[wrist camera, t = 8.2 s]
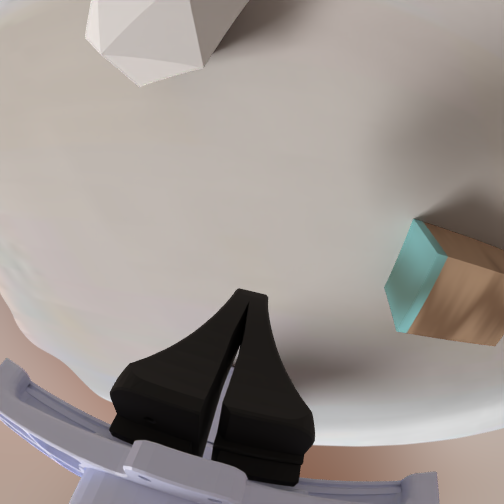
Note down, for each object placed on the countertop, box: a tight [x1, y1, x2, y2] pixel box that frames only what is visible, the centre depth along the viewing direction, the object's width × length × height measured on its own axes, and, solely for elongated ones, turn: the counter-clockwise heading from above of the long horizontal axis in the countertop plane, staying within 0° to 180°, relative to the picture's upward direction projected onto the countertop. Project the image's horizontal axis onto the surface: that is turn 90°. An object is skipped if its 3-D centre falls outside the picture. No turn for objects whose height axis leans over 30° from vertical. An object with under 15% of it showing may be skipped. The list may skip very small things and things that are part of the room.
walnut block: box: [384, 219, 504, 346], centre depth 18 cm, size 6×5×10 cm
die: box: [85, 0, 249, 87], centre depth 12 cm, size 8×9×10 cm
